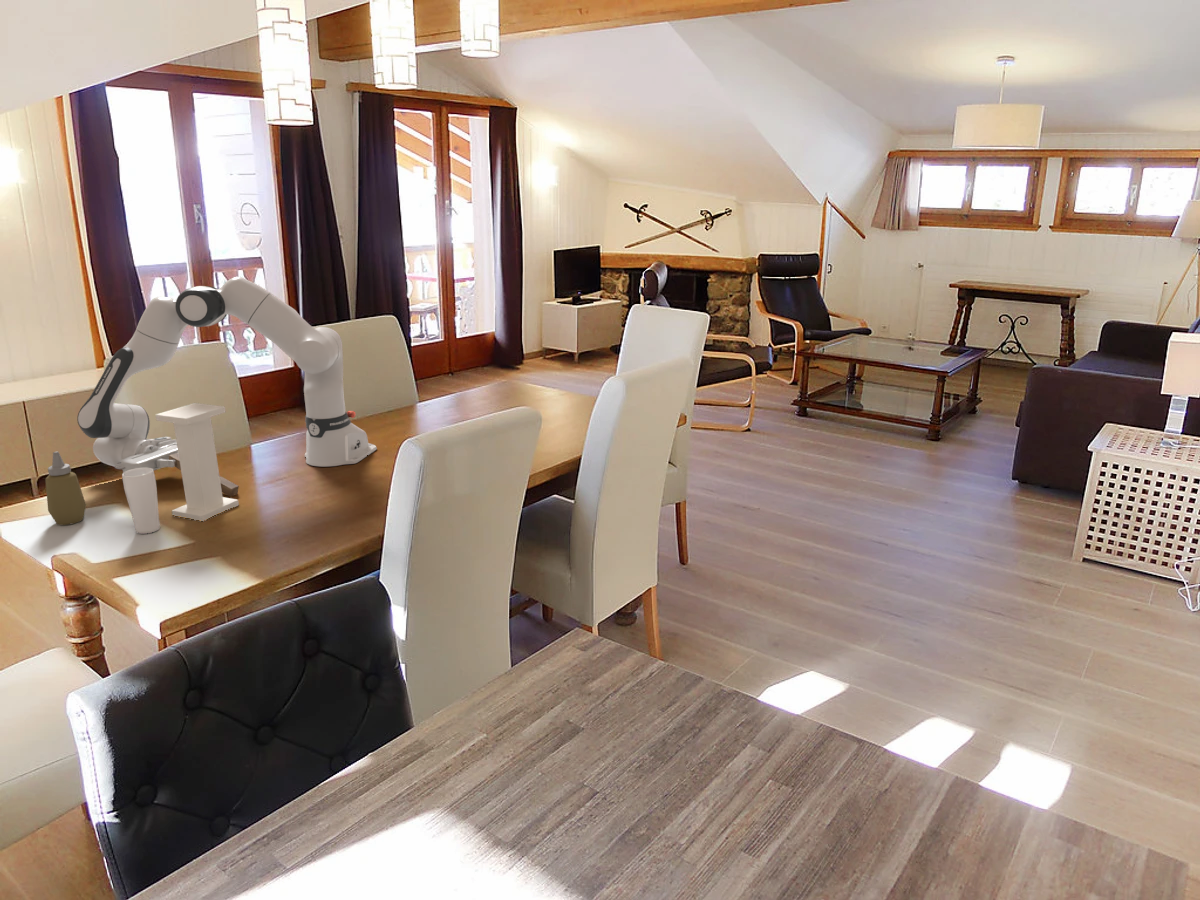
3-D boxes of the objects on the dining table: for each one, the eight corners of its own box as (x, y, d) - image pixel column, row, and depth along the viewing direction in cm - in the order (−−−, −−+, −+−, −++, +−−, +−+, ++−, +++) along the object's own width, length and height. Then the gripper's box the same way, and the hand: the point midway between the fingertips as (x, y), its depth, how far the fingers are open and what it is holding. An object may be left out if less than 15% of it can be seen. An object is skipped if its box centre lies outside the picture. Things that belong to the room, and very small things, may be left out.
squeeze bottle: (49, 529, 208) (34, 459, 203) (52, 518, 215) (37, 450, 209) (88, 523, 212) (74, 454, 206) (89, 512, 218) (75, 445, 213)
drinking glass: (169, 525, 210) (159, 467, 206) (153, 536, 204) (142, 477, 199) (143, 524, 211) (133, 466, 207) (126, 535, 205) (115, 476, 200)
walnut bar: (175, 460, 237) (176, 452, 236) (237, 493, 231) (238, 485, 230) (168, 463, 234) (168, 455, 233) (230, 496, 229) (231, 488, 228)
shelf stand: (209, 499, 227) (194, 402, 219) (238, 505, 223) (224, 406, 215) (172, 516, 216) (155, 414, 208) (202, 521, 213) (186, 418, 204)
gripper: (108, 455, 229) (146, 461, 224) (171, 434, 247) (208, 440, 242) (112, 477, 231) (150, 484, 226) (175, 455, 249) (211, 461, 244)
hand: (180, 461), depth 234 cm, fingers closed on walnut bar, 2 cm apart
